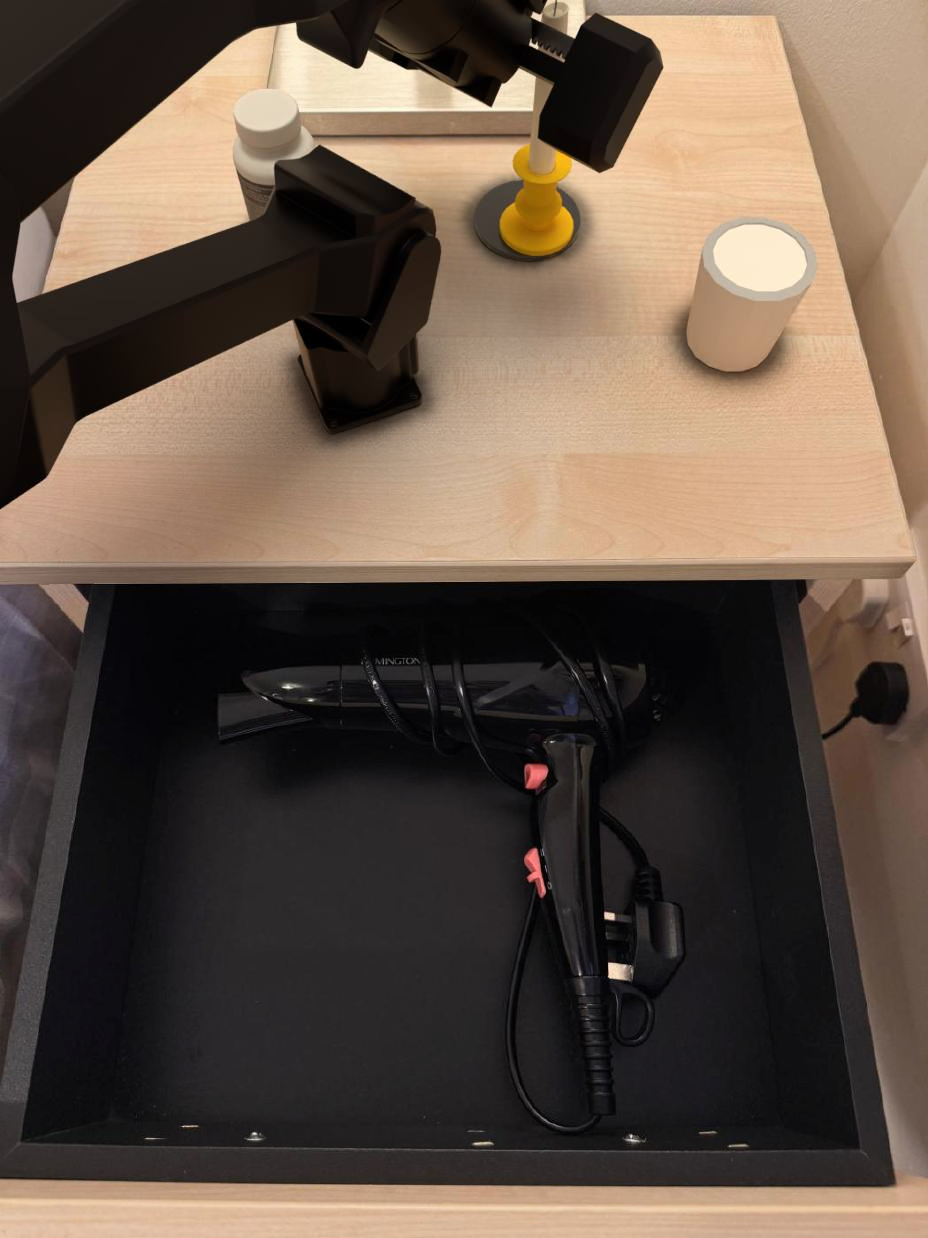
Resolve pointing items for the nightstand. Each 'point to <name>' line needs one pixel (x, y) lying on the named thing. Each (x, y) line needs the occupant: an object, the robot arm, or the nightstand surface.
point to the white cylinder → (747, 291)
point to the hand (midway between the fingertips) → (544, 88)
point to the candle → (540, 175)
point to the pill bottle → (266, 142)
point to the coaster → (492, 211)
